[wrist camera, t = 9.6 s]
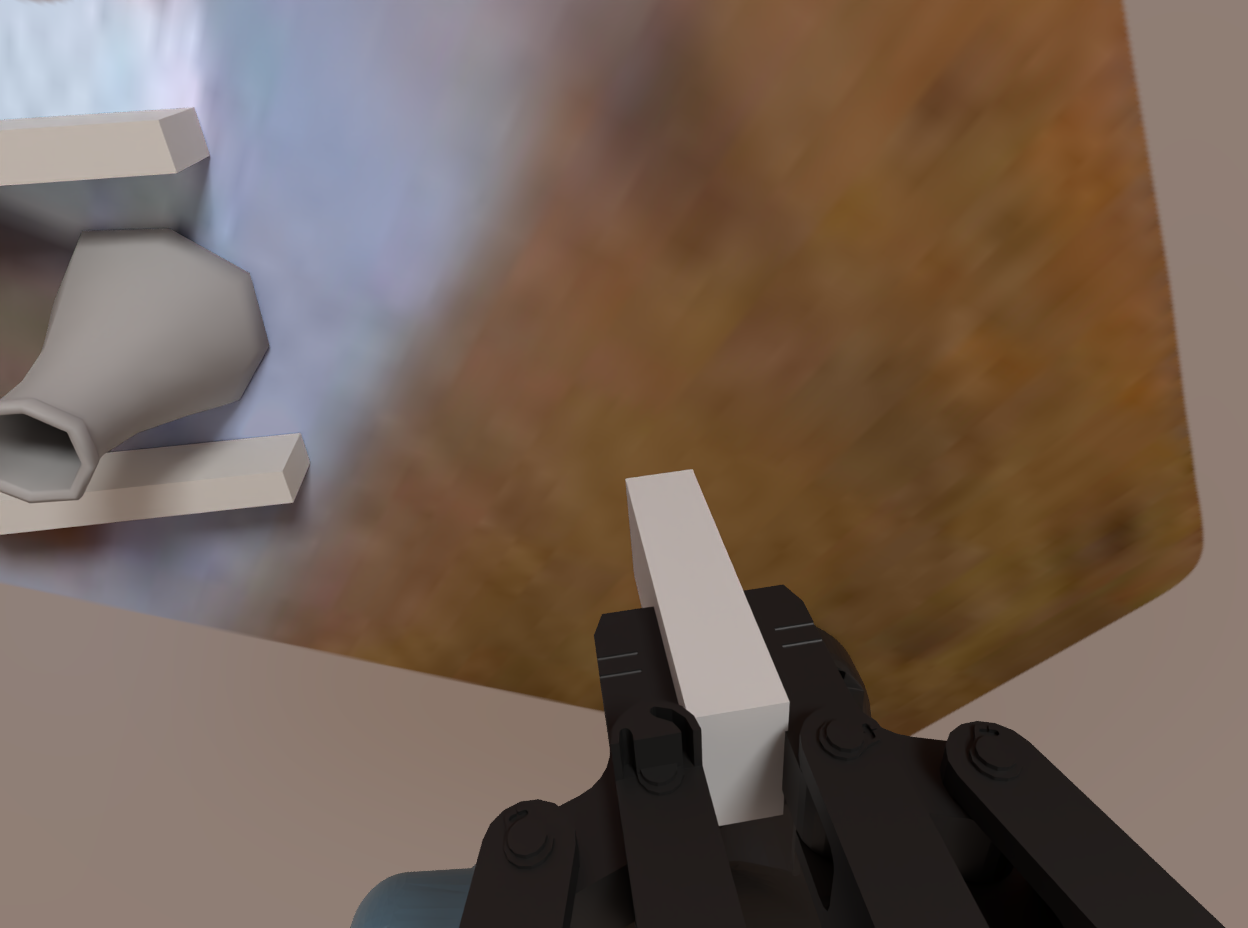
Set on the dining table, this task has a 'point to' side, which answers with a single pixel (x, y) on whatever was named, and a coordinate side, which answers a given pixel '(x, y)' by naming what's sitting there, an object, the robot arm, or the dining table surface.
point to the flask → (127, 356)
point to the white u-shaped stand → (151, 474)
